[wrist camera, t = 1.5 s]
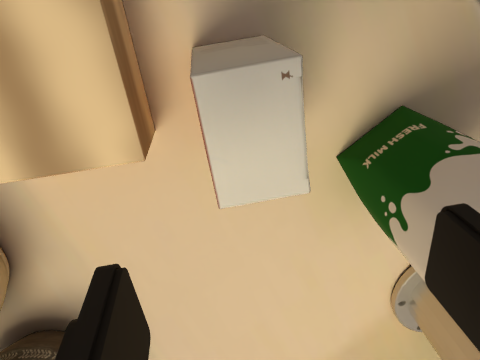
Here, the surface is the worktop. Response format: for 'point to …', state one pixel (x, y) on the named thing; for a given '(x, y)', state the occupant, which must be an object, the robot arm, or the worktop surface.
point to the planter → (35, 346)
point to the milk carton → (413, 178)
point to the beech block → (69, 89)
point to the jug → (3, 276)
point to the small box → (251, 119)
